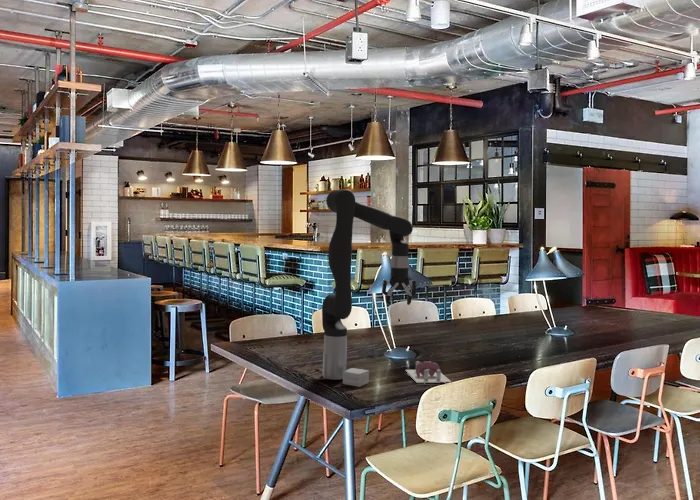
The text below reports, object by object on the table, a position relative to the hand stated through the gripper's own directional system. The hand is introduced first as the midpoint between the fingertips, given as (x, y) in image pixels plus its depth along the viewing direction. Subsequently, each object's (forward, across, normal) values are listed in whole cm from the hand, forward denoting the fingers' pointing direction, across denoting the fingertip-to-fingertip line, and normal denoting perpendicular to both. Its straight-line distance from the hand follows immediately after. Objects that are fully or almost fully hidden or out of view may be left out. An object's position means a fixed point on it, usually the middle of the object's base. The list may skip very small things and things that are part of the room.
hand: (398, 304), depth 269 cm
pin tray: (+28, +10, -14) cm, 33 cm away
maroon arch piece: (+27, +10, -15) cm, 33 cm away
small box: (+28, -21, -21) cm, 41 cm away
